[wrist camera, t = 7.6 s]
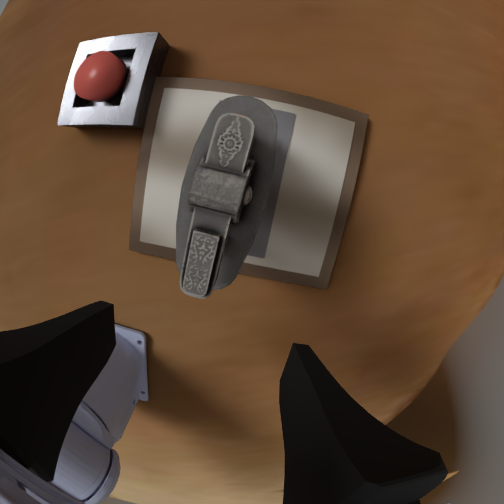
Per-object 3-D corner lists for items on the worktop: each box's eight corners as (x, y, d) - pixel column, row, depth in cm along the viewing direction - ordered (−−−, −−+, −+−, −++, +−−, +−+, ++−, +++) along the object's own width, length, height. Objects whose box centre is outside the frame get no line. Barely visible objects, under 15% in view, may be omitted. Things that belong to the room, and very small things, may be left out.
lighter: (229, 119, 16) (192, 65, 7) (280, 132, 16) (304, 89, 7) (199, 235, 18) (142, 305, 9) (247, 248, 19) (234, 332, 9)
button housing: (147, 129, 17) (132, 125, 15) (75, 127, 17) (57, 125, 14) (169, 45, 15) (158, 31, 13) (95, 51, 15) (80, 42, 12)
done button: (119, 101, 15) (108, 97, 13) (80, 103, 14) (68, 100, 13) (132, 55, 14) (122, 47, 12) (93, 59, 13) (81, 54, 12)
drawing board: (324, 286, 20) (326, 290, 19) (132, 247, 20) (128, 250, 19) (365, 116, 16) (369, 114, 16) (159, 79, 16) (155, 75, 15)
